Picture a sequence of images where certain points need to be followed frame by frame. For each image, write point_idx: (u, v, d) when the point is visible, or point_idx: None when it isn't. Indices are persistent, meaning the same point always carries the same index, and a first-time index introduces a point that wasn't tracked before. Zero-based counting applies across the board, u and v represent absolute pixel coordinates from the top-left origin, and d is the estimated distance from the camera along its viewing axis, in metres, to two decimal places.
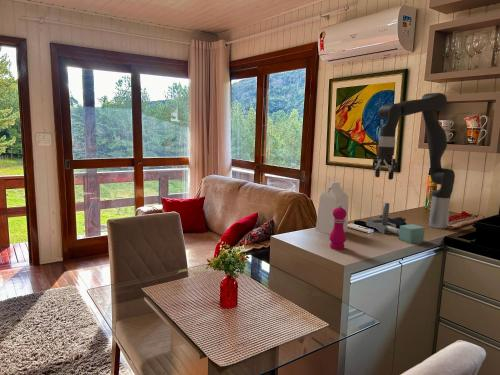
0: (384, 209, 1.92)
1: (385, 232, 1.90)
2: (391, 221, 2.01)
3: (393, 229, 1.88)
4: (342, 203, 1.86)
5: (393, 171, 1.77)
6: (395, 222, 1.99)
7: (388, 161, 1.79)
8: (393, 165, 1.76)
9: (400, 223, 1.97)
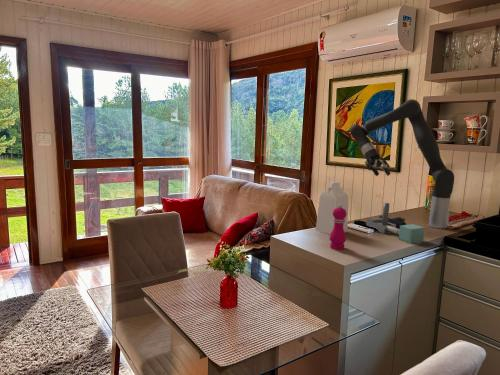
0: (384, 209, 1.92)
1: (385, 232, 1.90)
2: (391, 221, 2.01)
3: (393, 229, 1.88)
4: (342, 203, 1.86)
5: (372, 169, 2.02)
6: (395, 222, 1.99)
7: None
8: None
9: (400, 223, 1.96)
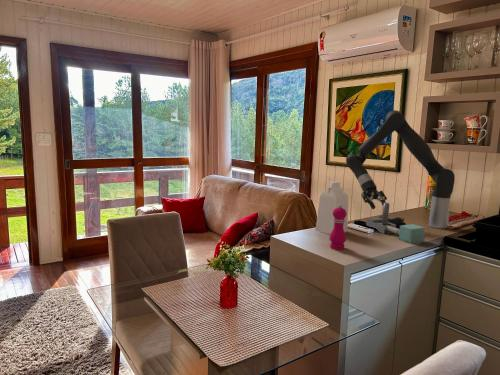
0: (384, 209, 1.92)
1: (385, 232, 1.90)
2: (390, 222, 2.00)
3: (393, 229, 1.88)
4: (342, 203, 1.86)
5: (368, 202, 1.96)
6: (394, 223, 1.98)
7: None
8: None
9: (400, 224, 1.96)
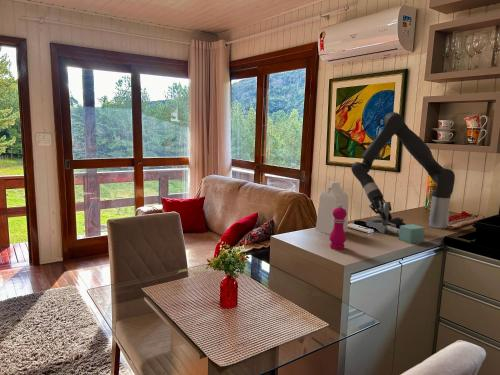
0: (384, 209, 1.92)
1: (385, 232, 1.90)
2: (390, 222, 1.99)
3: (393, 229, 1.88)
4: (342, 203, 1.86)
5: (379, 213, 1.93)
6: (394, 223, 1.97)
7: None
8: None
9: (399, 224, 1.95)
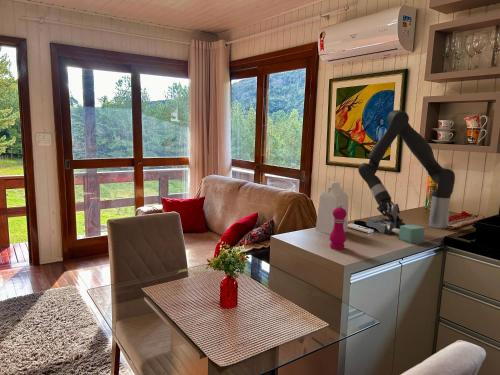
0: (392, 211, 1.87)
1: (385, 232, 1.90)
2: None
3: None
4: (342, 203, 1.86)
5: (387, 215, 1.88)
6: None
7: None
8: None
9: (399, 224, 1.94)
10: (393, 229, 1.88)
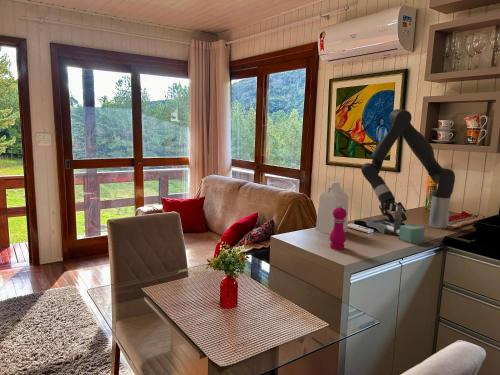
0: (396, 213, 1.85)
1: (385, 232, 1.90)
2: (389, 222, 1.99)
3: None
4: (342, 203, 1.86)
5: (387, 214, 1.85)
6: None
7: None
8: None
9: None
10: (397, 230, 1.85)
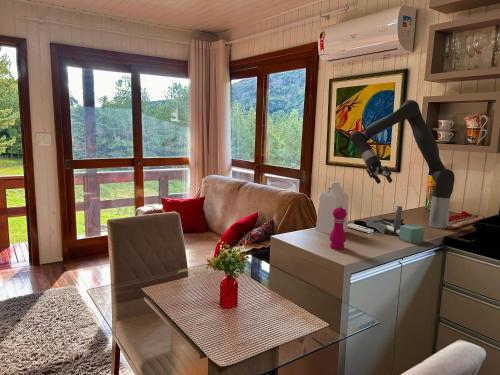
0: (396, 213, 1.85)
1: (385, 232, 1.90)
2: (389, 222, 1.98)
3: None
4: (342, 203, 1.86)
5: (373, 177, 1.97)
6: (393, 223, 1.96)
7: None
8: None
9: None
10: (397, 230, 1.85)
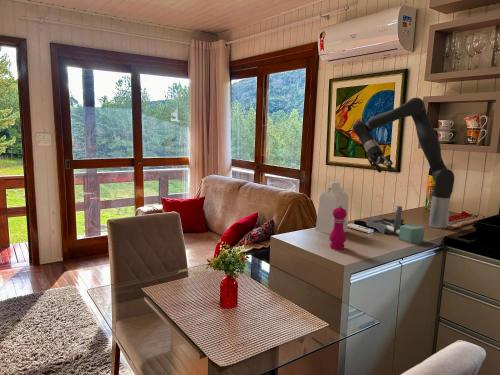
0: (396, 213, 1.85)
1: (385, 232, 1.90)
2: (389, 222, 1.98)
3: None
4: (342, 203, 1.86)
5: (374, 166, 2.00)
6: (393, 223, 1.96)
7: None
8: None
9: None
10: (397, 230, 1.85)
